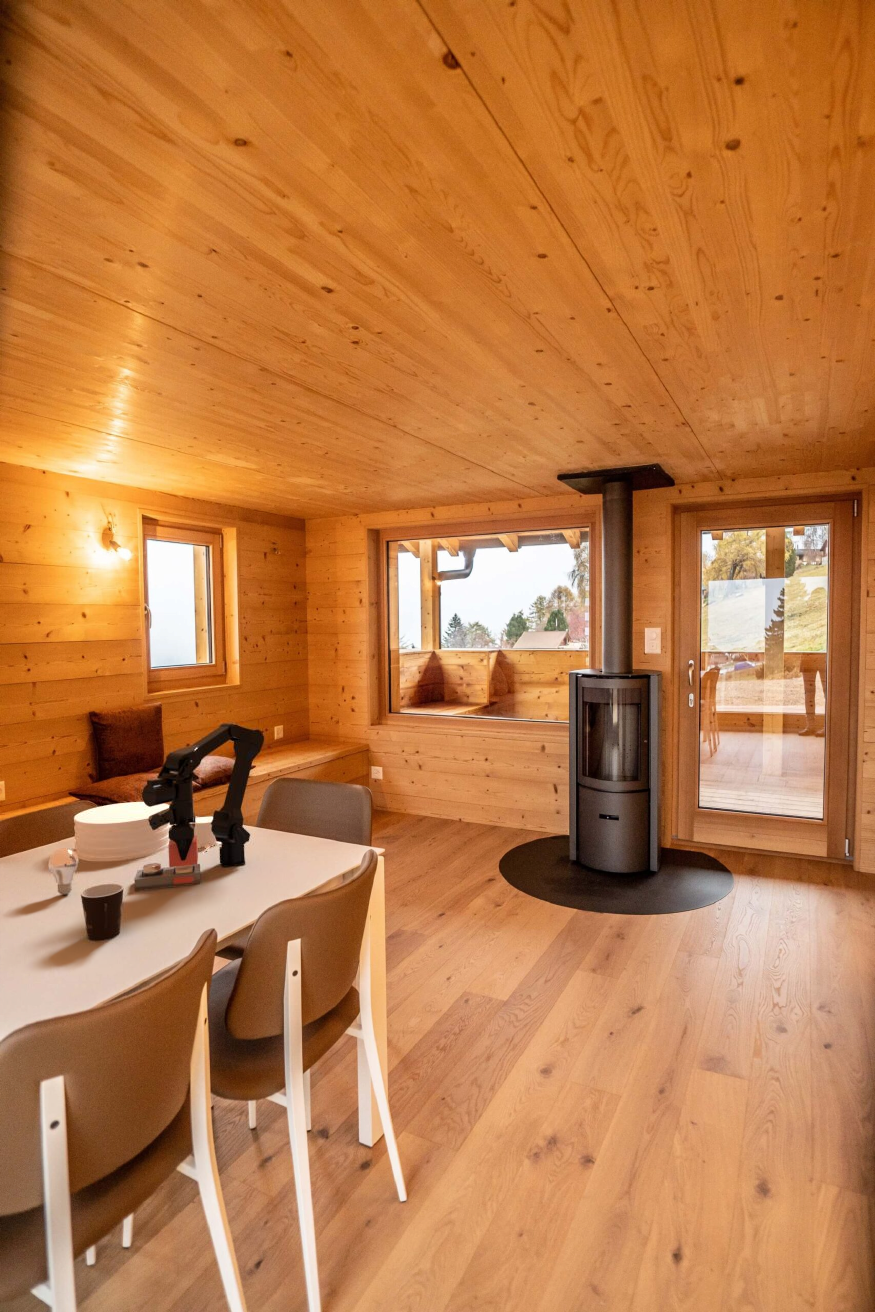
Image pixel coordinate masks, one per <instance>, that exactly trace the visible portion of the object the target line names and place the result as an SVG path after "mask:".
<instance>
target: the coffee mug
mask: <svg viewBox="0 0 875 1312" xmlns="http://www.w3.org/2000/svg"><path fill="white" fill-rule="evenodd" d="M80 898H81V904H82V910H83V916H84V922H85V923H84V924H85V929H86V934H87V935H86V936H87V939H88V940H89V941H92V942H102V941H107V940H111V939H114V938H116V937H118V936H119V935H120V932H121V923H122V921H121V920H122V909H123V908H122V907H123V900H124V899H123V898H124V885H122V884H120V883H102V884H97V885H94V886H90V887H87V888H85V889H83V890H82V891H81V892H80Z"/></svg>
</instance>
